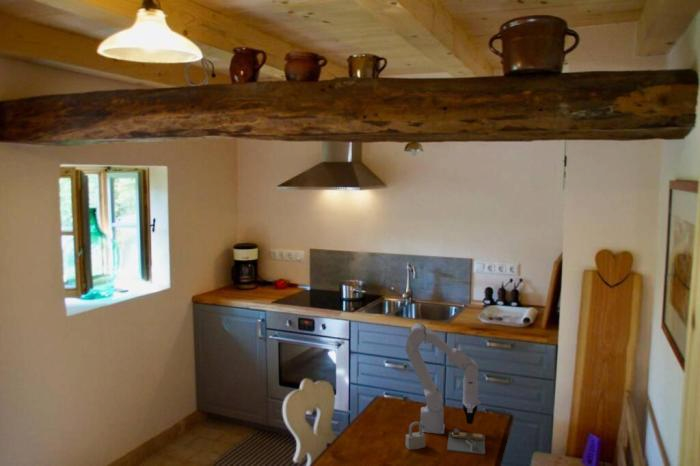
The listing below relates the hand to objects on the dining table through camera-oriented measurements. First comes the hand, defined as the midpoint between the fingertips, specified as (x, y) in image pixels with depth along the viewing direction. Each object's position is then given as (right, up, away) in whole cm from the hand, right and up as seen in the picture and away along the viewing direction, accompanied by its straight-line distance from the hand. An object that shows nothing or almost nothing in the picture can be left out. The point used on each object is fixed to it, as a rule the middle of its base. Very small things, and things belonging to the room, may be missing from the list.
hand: (469, 423), depth 231 cm
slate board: (-3, -5, -9) cm, 11 cm away
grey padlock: (-23, -5, -12) cm, 27 cm away
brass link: (-2, -4, -6) cm, 7 cm away
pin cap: (-6, -2, -5) cm, 8 cm away
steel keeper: (-3, -5, -14) cm, 15 cm away
